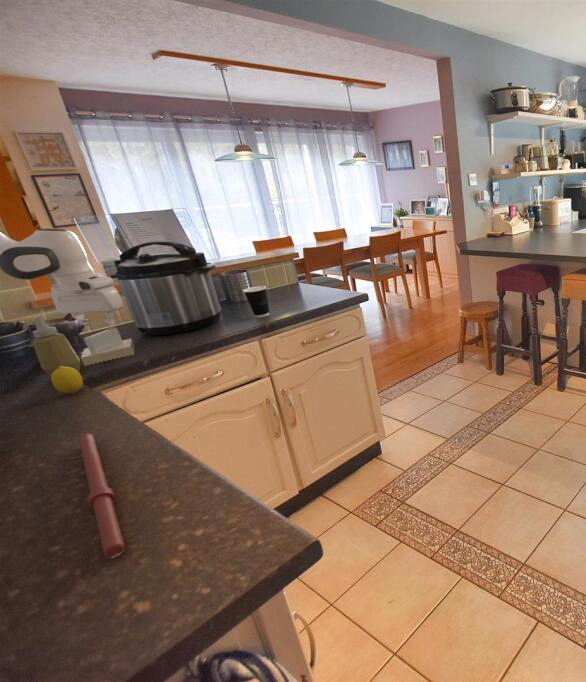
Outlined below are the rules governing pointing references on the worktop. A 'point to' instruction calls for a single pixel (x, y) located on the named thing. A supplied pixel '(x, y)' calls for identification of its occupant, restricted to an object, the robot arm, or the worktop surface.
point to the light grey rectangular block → (103, 340)
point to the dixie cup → (258, 300)
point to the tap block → (109, 353)
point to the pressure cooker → (168, 289)
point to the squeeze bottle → (53, 348)
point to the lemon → (66, 379)
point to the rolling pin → (101, 498)
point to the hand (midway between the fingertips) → (98, 325)
